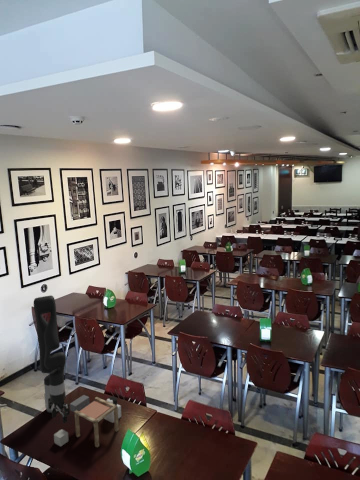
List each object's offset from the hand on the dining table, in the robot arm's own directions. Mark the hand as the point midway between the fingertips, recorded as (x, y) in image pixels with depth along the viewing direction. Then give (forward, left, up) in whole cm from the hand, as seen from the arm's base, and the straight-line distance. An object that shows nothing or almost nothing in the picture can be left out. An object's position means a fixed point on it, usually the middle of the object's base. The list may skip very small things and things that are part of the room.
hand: (59, 419), depth 189 cm
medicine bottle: (+9, +29, -13) cm, 33 cm away
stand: (+11, +15, -13) cm, 23 cm away
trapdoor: (+6, +15, -2) cm, 16 cm away
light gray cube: (0, 0, -13) cm, 13 cm away
